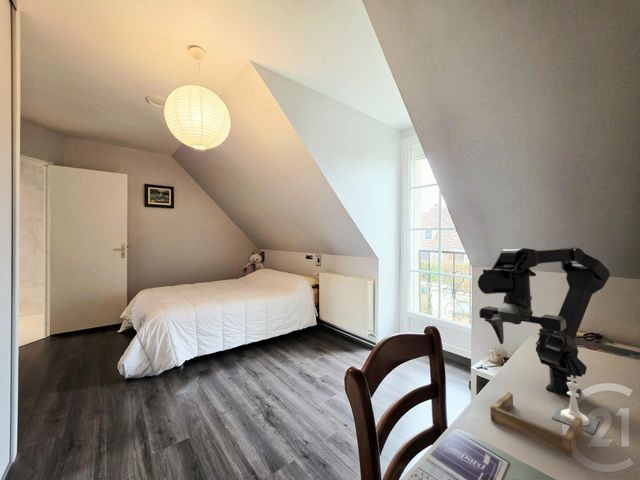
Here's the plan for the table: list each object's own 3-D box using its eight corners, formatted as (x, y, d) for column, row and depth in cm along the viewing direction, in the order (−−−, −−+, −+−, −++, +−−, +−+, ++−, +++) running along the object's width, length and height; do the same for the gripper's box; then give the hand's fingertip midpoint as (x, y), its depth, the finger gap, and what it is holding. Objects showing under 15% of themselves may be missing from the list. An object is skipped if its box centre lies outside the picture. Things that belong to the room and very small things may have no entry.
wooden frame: (508, 403, 69) (508, 392, 69) (582, 432, 58) (581, 418, 58) (491, 420, 63) (490, 407, 63) (570, 456, 51) (569, 440, 51)
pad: (559, 407, 67) (559, 406, 67) (599, 422, 61) (599, 420, 61) (551, 418, 63) (551, 417, 63) (593, 434, 57) (593, 433, 57)
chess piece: (560, 409, 66) (558, 369, 66) (588, 417, 62) (585, 375, 63) (560, 419, 62) (557, 376, 62) (590, 428, 59) (587, 382, 59)
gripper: (469, 291, 77) (472, 345, 76) (552, 300, 62) (556, 367, 61) (486, 288, 83) (488, 337, 83) (564, 295, 68) (568, 356, 67)
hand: (520, 348), depth 73 cm, fingers open, 9 cm apart
